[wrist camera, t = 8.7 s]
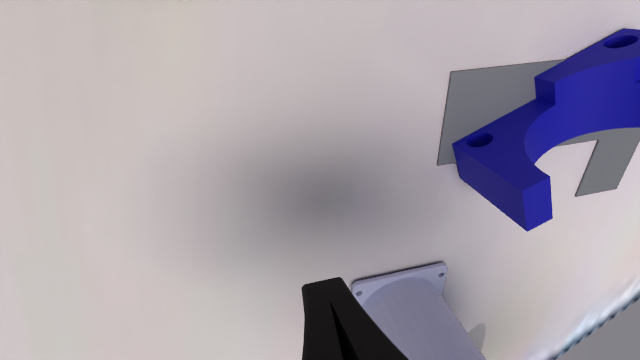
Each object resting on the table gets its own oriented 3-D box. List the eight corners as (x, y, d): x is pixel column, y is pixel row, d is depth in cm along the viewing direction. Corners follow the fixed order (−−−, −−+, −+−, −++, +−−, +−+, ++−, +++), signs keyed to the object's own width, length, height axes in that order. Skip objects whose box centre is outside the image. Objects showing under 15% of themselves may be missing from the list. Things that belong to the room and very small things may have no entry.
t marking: (615, 188, 27) (616, 188, 27) (428, 224, 24) (428, 225, 24) (727, -46, 19) (729, -46, 19) (466, -34, 16) (467, -34, 16)
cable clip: (623, 28, 20) (760, 39, 14) (618, 93, 22) (734, 123, 17) (446, 124, 20) (518, 167, 15) (460, 178, 22) (527, 231, 17)
